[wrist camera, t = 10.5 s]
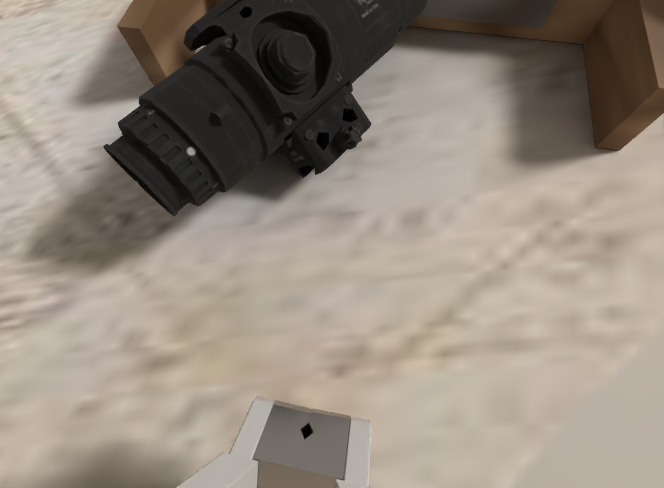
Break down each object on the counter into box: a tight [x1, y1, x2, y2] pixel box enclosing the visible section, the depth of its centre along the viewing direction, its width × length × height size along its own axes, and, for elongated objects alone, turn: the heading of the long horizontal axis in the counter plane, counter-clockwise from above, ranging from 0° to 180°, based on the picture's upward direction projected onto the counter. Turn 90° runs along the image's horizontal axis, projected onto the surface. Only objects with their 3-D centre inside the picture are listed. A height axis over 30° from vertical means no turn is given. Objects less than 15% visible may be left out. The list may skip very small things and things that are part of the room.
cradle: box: [117, 0, 664, 150], centre depth 20 cm, size 26×9×4 cm, turn 79°
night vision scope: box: [104, 0, 427, 216], centre depth 17 cm, size 8×18×10 cm
